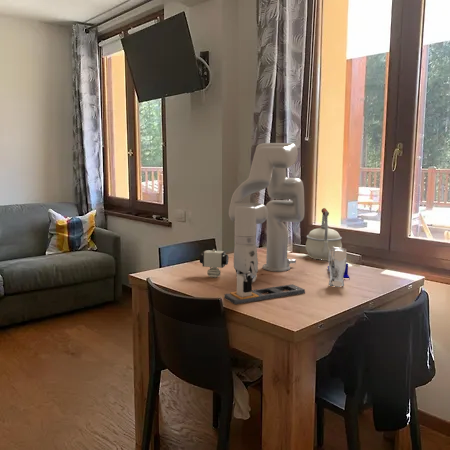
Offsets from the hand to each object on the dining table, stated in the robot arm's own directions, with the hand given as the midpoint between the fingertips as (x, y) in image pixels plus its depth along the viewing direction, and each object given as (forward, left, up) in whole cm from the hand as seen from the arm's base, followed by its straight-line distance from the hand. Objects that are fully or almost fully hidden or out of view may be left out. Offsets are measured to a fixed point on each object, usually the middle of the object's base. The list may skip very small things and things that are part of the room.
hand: (244, 289), depth 162 cm
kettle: (-70, -41, -4) cm, 81 cm away
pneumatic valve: (-4, -33, -4) cm, 33 cm away
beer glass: (-42, +1, -4) cm, 42 cm away
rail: (-9, 0, -3) cm, 10 cm away
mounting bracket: (-55, -13, -4) cm, 57 cm away
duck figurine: (-13, -19, -4) cm, 23 cm away
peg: (0, 0, -3) cm, 3 cm away
